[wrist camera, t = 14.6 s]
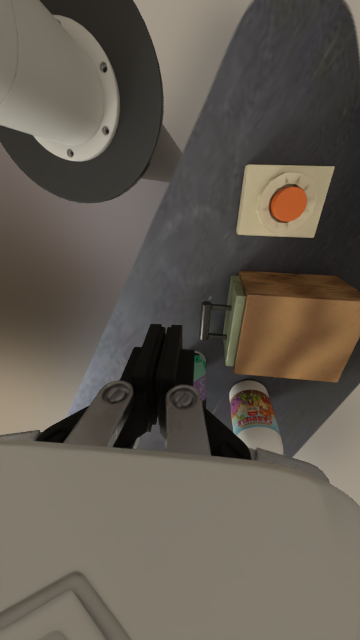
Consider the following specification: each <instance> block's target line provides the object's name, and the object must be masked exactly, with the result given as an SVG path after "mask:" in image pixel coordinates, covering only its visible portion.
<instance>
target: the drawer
mask: <svg viewBox="0 0 360 640" xmlns="http://www.w3.org/2000/svg"><path fill="white" fill-rule="evenodd" d="M245 304H246V294H245V292H244V289H243V286H242V284H241V281H240V278H239V276H231V280H230V287H229V294H228V301H227V305H217V304H212V303H211V302H208V301H205V302H202V309H201V321H200V334H199V338H200V339H201V340H208V338H211V339H223V346H224V355H225V364H226V366H234V362H235V356H236V351H237V345H238V340H239V337H240V331H241V326H242V320H243V315H244V309H245ZM211 309H213V310H226V315H225V323H224V330H223V334H212V333H209V326H210V316H211Z"/></svg>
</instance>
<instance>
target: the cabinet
mask: <svg viewBox="0 0 360 640" xmlns="http://www.w3.org/2000/svg"><path fill="white" fill-rule="evenodd" d="M238 276H239V278H240V281H241V284H242V286H243V289H244V292H245V294H246V304H245V309H244V315H243V320H242V326H241V331H240V337H239V340H238V345H237V351H236V356H235V362H234V366H233V371H234V374H245V375H257V376H268V377H280V378H292V379H303V380H315V381H327V382H338V380H339V378H340V376H341V373H342V371H343V369H344V367H345V365H346V363H347V361H348V359H349V357H350V355H351V353H352V351H353V349H354V347H355V345H356V343H357V341H358V339H359V337H360V292H359V291H358V290H356V289H355V288H353V287H352V286H351V285H349V284H348V283H346V282H345V281H343V280H342V279H340V278H339V277H337V276H330V275H312V274H294V273H276V272H258V271H239V273H238Z"/></svg>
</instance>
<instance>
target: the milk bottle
mask: <svg viewBox="0 0 360 640" xmlns="http://www.w3.org/2000/svg"><path fill="white" fill-rule="evenodd" d="M229 396H230V406H231V415H232V423H233V431H234V434H235V435H236V436H238V437H239V438H240V439H241V440H242V441H243V442H244V443H245V444H246V445H247V447H248V448H252V449H255V450H256V449H257V447H258V448H261V449H264V450H268V451H271V452H274V453H278V454H281V455H283V445H282V440H281V436H280V432H279V429H278V425H277V422H276V418H275V415H274V412H273V408H272V405H271V402H270V399H269V395H268V392H267V390H266V388H265V387H264V386H263V385H262V384H261V383H259V382H256V381H252V380H246V381H241V382H239V383H237V384H235V385H234V386H233V387H232V388H231V391H230V394H229Z"/></svg>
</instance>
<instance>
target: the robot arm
mask: <svg viewBox="0 0 360 640" xmlns="http://www.w3.org/2000/svg"><path fill="white" fill-rule="evenodd" d="M105 68H107V71H106V73H105V72H104V70H105ZM119 114H120V96H119V90H118V84H117V80H116V77H115V73H114V70H113V68H112V66H111V63H110V61H109V59H108V57H107V55H106V54H105V52H104V51H103V49H102V47H101V46H100V44H99V43H98V42H97V41H96V39H95V38H94V37H93V35H92V34H90V33H89V32H88V31H87V30H86V29H85V28H84V27H83V26H82V25H80V24H79V23H77V22H75V21H74V20H72V19H70V18H67V17H64V16H61V15H52V14H51V13H50V12H49V11H48V9H47V8H46V7H45V6H44V5H43V4H42V3H41V2H40V0H0V125H2V126H5V127H8V128H12V129H15V130H18V131H21V132H25V133H28V134H31V135H33V136H34V137H35V138H36V140H37V141H38V142H39V143H40V144H41V145H42V146H43V147H44V148H45V149H47V150H48V151H50V152H51V153H53V154H54V155H56V156H58V157H60V158H63V159H66V160H70V161H79V162H82V161H88V160H91V159H93V158H95V157H97V156H99V155H100V154H101V153H102V152H104V151H105V150H106V148H107V147H108V146H109V145H110V143H111V141H112V139H113V137H114V135H115V133H116V129H117V126H118V122H119ZM107 130H109V134H107ZM72 152H73V153H74V156H73V155H72ZM194 363H195V350H186V349H182V325H172V326H171V327H168V328H167V332H166V333H165V327H162V325H161V324H151V325H150V327H149V330H148V333H147V335H146V338H145V341H144V343H143V346H142V347H134V349H133V351H132V353H131V356H130V358H129V360H128V363H127V365H126V367H125V370H124V372H123V374H122V377H121V379H120V381H113V382H111V383H108V384H107V385H105V386H104V387H103V388H102V389H101V390H100V391H99V393H98V394H97V396H96V397H95V399H94V400H93V401H92V403H91V404H90V405H89V406H87V407H86V408H84V409H82V410H80V411H78V412H76V413H74V414H73V415H71V416H69V417H67V418H65V419H63V420H61V421H60V422H58V423H56V424H54V425H52V426H51V427H49V428H47V429H46V430H45V431H44V432H40V430H35V431H27V432H20V433H13V434H6V435H0V640H360V506H359V505H358V504H357V503H356V502H355V501H354V500H353V499H352V498H351V497H349V496H348V495H346V494H345V493H344V492H343V491H341V490H339V489H338V488H336V487H334V486H333V485H331V484H330V483H329V479H328V478H327V477H326V475H325V474H324V473H323V472H322V471H321V470H320V469H319V468H318V467H316V466H314V465H312V464H310V463H307V462H304V461H301V460H298V459H294V458H291V457H288V456H284V455H281V454H278V453H274V452H271V451H268V450H264V449H261V448H258V447H257V449H256V450H255V449H252V448H248V447H247V445H246V444H245V443H244V442H243V441H242V440H241V439H240V438H239V437H238V436H236V435H235V434H234V433H233V432H232V431H231V430H230V429H228V428H227V427H226V426H225V425H224V424H223V423H222V422H221V421H219V420H218V419H217V418H216V417H215V416H214V415H213V414H212V413H210V412H209V411H208V410H207V409H206V408H205V407H204V406H202V401H201V396H200V393H199V392H198V390H197V389H196V388H194V387H193V385H194ZM157 417H158V420H159V425H160V433H161V434H162V435H163V437H164V438H165V439H166V452H162V451H150V450H139V449H137V447H138V445H139V442H140V436H141V435H143V434H144V433H145V432H151V427H152V425H156V422H157Z"/></svg>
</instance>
